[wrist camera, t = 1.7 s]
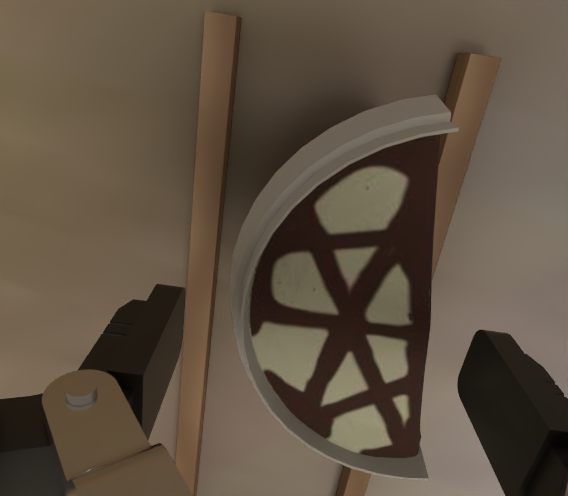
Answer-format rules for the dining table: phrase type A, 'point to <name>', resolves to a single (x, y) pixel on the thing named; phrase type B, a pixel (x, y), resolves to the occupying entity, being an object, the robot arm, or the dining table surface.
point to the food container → (346, 287)
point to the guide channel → (210, 202)
